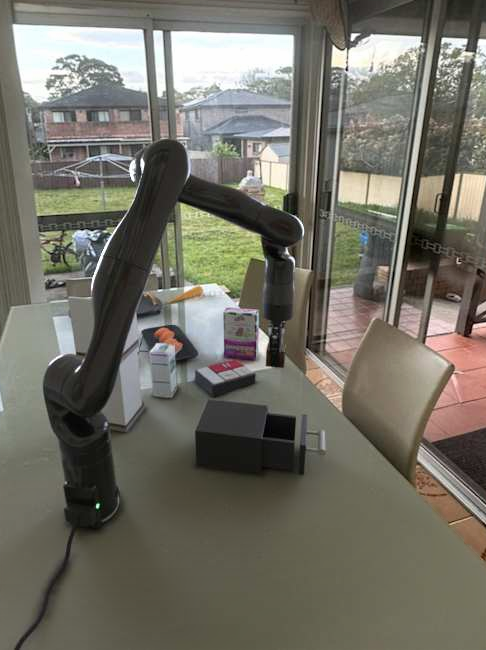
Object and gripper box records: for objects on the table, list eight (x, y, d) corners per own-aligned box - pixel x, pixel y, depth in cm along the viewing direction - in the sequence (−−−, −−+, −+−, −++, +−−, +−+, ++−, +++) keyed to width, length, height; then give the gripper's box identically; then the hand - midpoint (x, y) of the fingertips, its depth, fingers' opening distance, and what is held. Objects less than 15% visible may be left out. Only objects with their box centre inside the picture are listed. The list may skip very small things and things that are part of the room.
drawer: (323, 444, 104) (326, 416, 101) (324, 478, 94) (327, 448, 91) (249, 435, 108) (249, 408, 105) (241, 467, 97) (242, 438, 94)
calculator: (256, 371, 131) (213, 383, 123) (255, 384, 133) (213, 397, 125) (236, 357, 140) (194, 367, 132) (235, 369, 141) (194, 380, 134)
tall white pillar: (144, 408, 120) (134, 287, 107) (126, 432, 111) (112, 301, 98) (107, 402, 123) (92, 283, 110) (86, 425, 113) (67, 297, 101)
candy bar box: (258, 353, 150) (259, 309, 144) (256, 360, 146) (257, 314, 140) (226, 350, 153) (226, 306, 147) (223, 357, 148) (223, 311, 142)
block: (283, 368, 109) (284, 351, 107) (265, 366, 110) (266, 350, 108) (285, 359, 113) (285, 343, 111) (267, 358, 114) (268, 342, 112)
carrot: (200, 294, 210) (197, 285, 210) (205, 293, 206) (202, 284, 206) (165, 308, 199) (162, 298, 198) (170, 307, 195) (167, 297, 195)
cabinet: (267, 438, 108) (268, 405, 104) (260, 475, 96) (261, 438, 93) (208, 432, 110) (208, 399, 107) (196, 466, 99) (194, 430, 95)
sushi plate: (201, 360, 146) (200, 350, 145) (109, 377, 136) (108, 367, 134) (176, 328, 171) (176, 319, 170) (97, 340, 161) (96, 331, 160)
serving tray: (151, 297, 204) (150, 284, 202) (169, 313, 185) (169, 299, 183) (64, 312, 188) (62, 299, 185) (75, 332, 168) (73, 317, 166)
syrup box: (172, 398, 125) (169, 352, 119) (152, 396, 126) (148, 351, 121) (177, 388, 130) (175, 343, 125) (158, 386, 131) (155, 342, 126)
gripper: (266, 288, 112) (263, 348, 118) (259, 307, 99) (257, 374, 105) (295, 290, 111) (291, 351, 117) (292, 309, 98) (288, 377, 104)
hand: (275, 361), depth 111 cm, fingers closed on block, 4 cm apart
